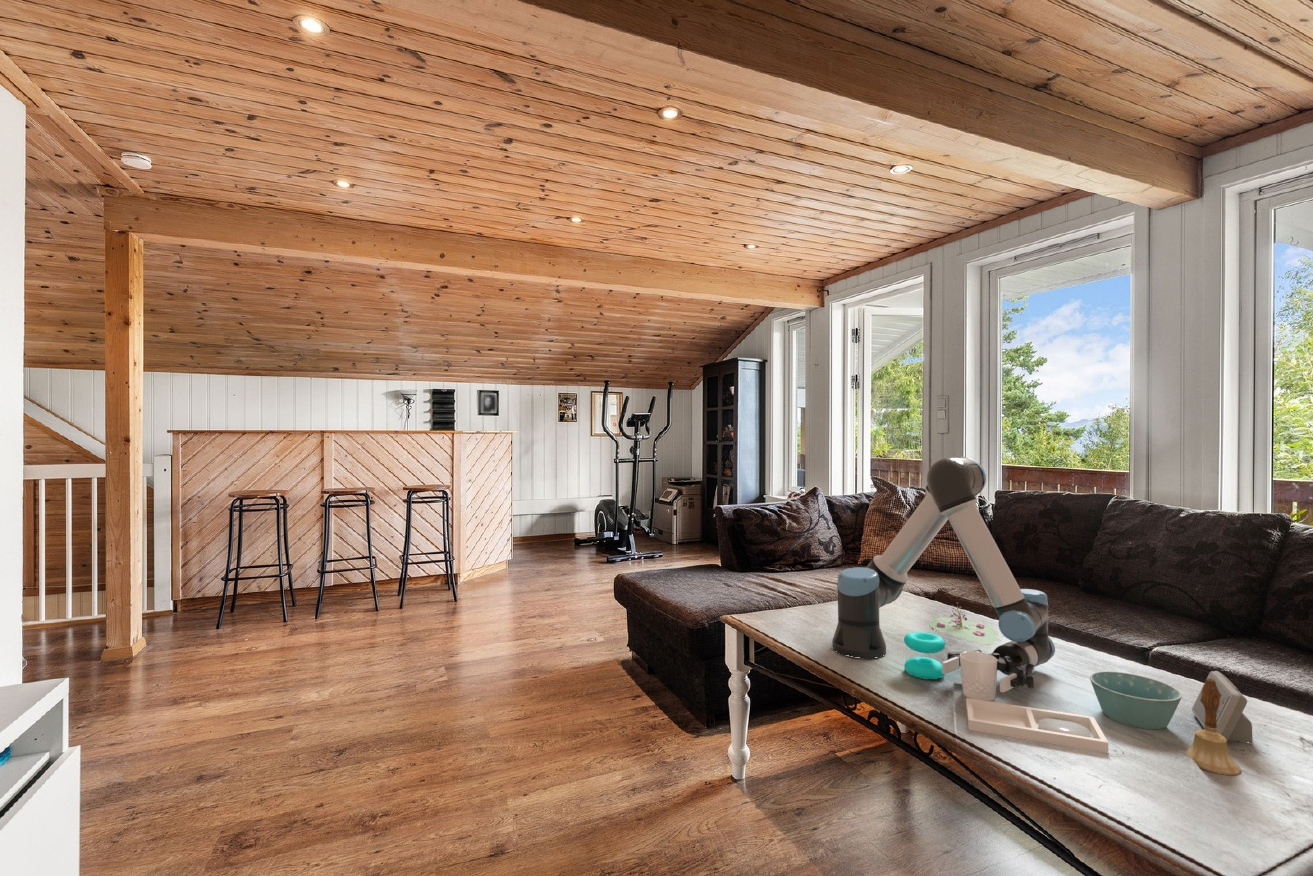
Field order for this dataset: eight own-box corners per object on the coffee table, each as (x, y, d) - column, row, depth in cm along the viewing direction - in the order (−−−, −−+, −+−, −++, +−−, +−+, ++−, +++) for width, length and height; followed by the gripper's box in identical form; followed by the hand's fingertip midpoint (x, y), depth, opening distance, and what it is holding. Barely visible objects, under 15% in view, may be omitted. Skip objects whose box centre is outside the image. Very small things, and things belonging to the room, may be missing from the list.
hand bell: (1247, 766, 113) (1245, 681, 113) (1233, 780, 109) (1231, 691, 109) (1190, 748, 120) (1188, 667, 120) (1174, 760, 116) (1173, 676, 116)
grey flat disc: (1044, 740, 122) (1044, 735, 122) (1033, 720, 130) (1033, 715, 130) (1097, 747, 119) (1097, 742, 119) (1082, 726, 127) (1082, 721, 127)
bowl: (1167, 714, 135) (1167, 677, 135) (1195, 746, 121) (1194, 705, 121) (1083, 702, 142) (1082, 667, 142) (1099, 731, 128) (1099, 692, 128)
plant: (1026, 643, 186) (1026, 613, 186) (969, 648, 181) (968, 618, 181) (967, 620, 210) (967, 594, 210) (915, 624, 205) (915, 598, 205)
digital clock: (1192, 712, 136) (1191, 665, 136) (1248, 724, 130) (1247, 674, 130) (1192, 739, 124) (1191, 687, 124) (1254, 753, 118) (1253, 699, 118)
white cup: (988, 692, 148) (988, 651, 148) (1004, 706, 140) (1003, 663, 140) (955, 691, 148) (954, 651, 148) (968, 705, 140) (967, 662, 141)
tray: (968, 734, 127) (968, 719, 127) (966, 711, 138) (966, 698, 138) (1108, 758, 117) (1108, 742, 117) (1093, 731, 127) (1093, 717, 127)
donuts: (941, 644, 153) (899, 637, 159) (941, 684, 153) (900, 676, 159) (948, 634, 161) (908, 628, 167) (948, 672, 161) (909, 664, 167)
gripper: (1070, 688, 144) (1028, 711, 132) (966, 658, 165) (922, 676, 152) (1069, 656, 144) (1028, 677, 132) (965, 631, 165) (921, 646, 152)
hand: (971, 676), depth 142 cm, fingers open, 13 cm apart
